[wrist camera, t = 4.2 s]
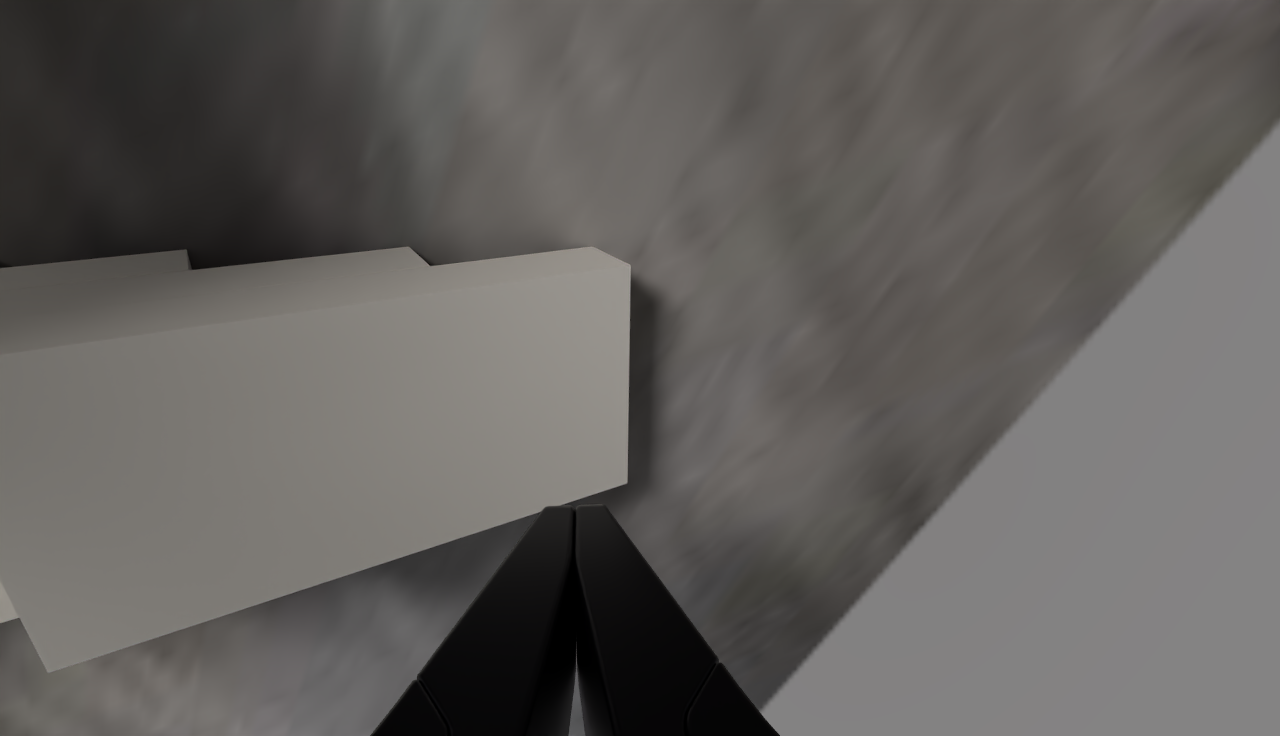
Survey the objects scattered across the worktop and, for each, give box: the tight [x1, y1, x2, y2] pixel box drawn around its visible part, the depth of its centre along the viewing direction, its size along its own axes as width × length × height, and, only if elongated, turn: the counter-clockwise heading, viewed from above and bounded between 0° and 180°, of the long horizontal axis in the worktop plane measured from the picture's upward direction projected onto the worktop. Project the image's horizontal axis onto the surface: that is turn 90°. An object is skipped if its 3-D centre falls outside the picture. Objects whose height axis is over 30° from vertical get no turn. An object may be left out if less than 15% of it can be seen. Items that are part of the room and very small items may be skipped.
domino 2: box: [0, 246, 631, 673], centre depth 12 cm, size 2×5×10 cm
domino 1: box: [0, 247, 430, 623], centre depth 11 cm, size 2×5×10 cm
